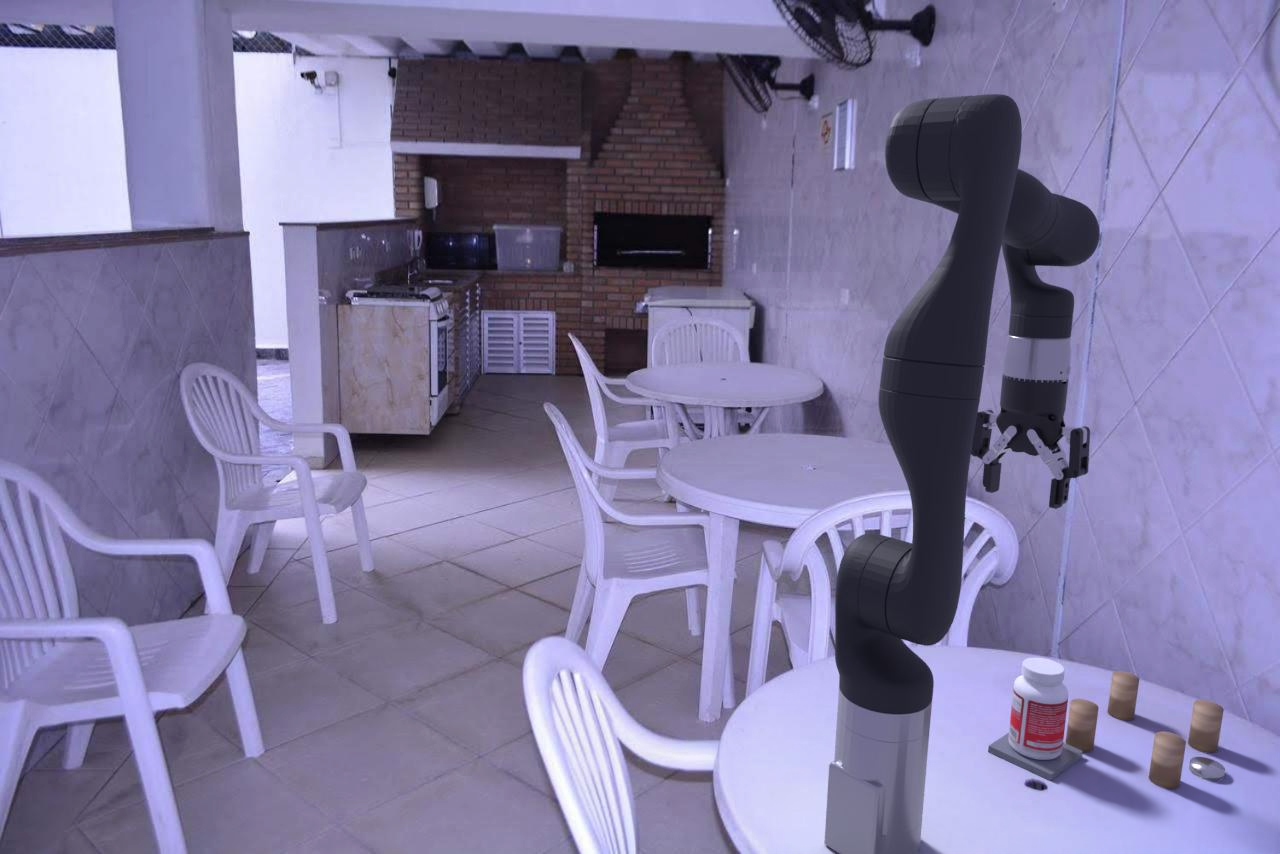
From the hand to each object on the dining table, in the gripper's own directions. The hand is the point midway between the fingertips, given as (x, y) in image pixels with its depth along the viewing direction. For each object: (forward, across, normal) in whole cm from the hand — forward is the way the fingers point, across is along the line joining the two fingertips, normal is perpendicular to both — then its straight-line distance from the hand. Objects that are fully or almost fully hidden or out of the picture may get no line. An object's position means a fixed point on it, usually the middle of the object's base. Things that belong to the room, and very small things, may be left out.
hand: (1023, 499), depth 116 cm
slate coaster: (+30, +8, -5) cm, 31 cm away
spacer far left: (+30, +20, +13) cm, 39 cm away
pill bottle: (+30, +7, -6) cm, 31 cm away
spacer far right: (+30, +10, +13) cm, 34 cm away
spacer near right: (+30, +10, +1) cm, 32 cm away
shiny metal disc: (+31, +22, +7) cm, 39 cm away
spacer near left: (+30, +20, +1) cm, 36 cm away
